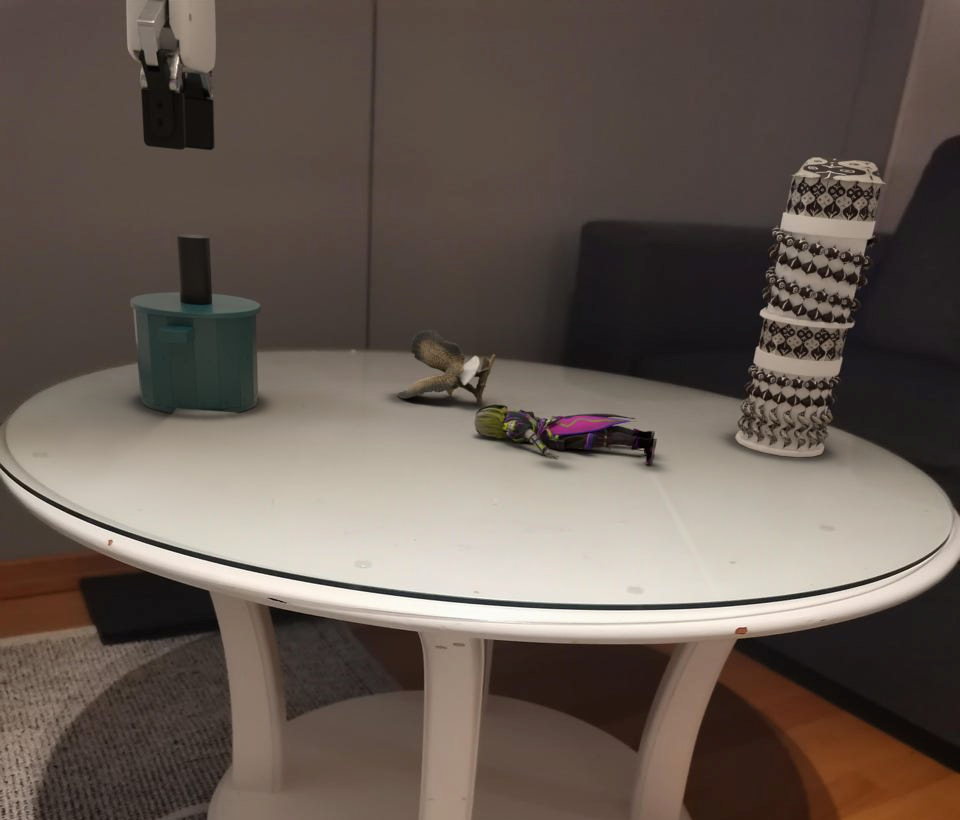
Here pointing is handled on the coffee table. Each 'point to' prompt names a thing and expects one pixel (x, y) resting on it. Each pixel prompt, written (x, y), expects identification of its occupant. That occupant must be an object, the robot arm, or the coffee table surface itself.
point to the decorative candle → (809, 305)
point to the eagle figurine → (446, 367)
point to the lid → (195, 288)
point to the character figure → (563, 430)
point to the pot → (197, 363)
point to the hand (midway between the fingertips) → (181, 148)
